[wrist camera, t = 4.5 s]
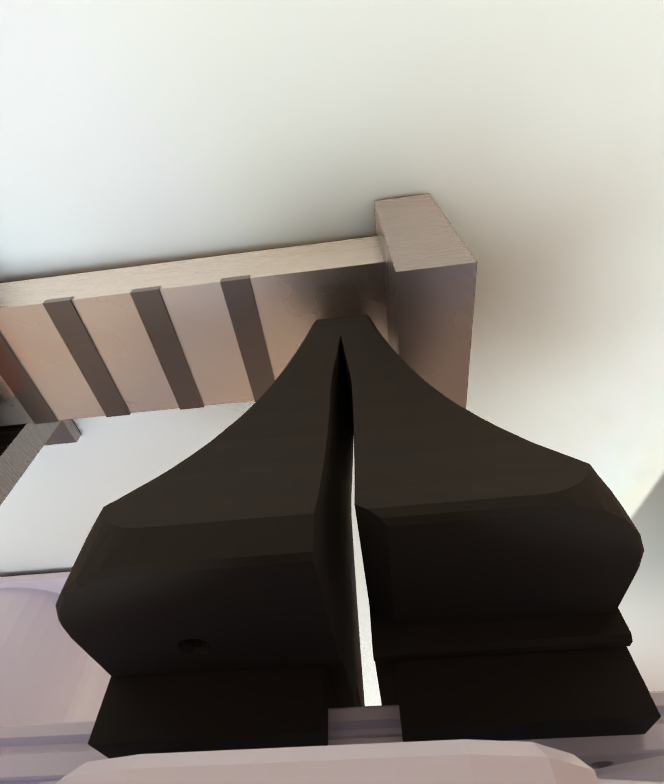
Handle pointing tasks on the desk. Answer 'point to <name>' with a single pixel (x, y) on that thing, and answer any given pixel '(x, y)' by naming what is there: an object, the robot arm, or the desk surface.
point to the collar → (28, 447)
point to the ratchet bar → (233, 320)
